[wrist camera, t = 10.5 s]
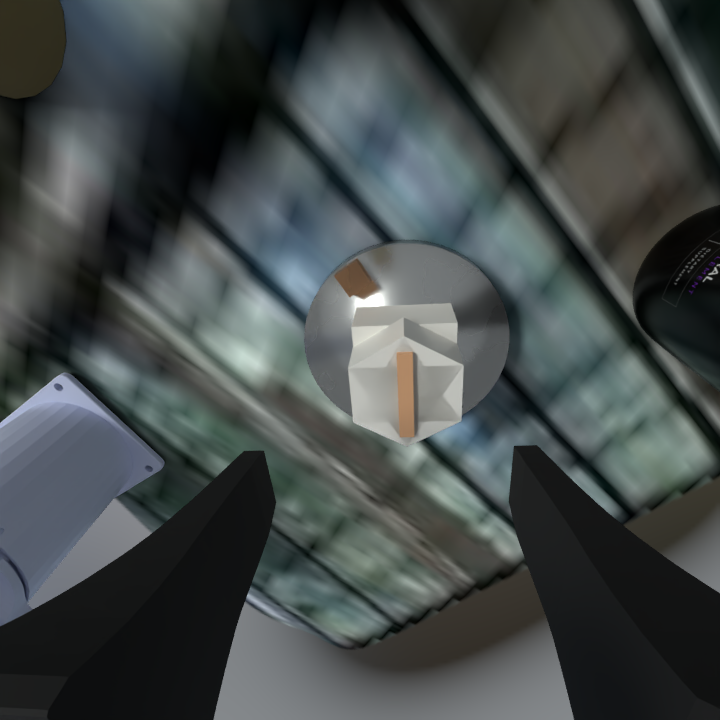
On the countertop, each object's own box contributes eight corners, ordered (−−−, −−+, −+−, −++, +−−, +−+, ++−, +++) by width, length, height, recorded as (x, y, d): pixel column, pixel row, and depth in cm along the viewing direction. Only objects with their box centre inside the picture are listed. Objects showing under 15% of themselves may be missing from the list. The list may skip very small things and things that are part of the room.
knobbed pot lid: (378, 446, 24) (375, 485, 22) (269, 313, 21) (249, 338, 18) (539, 364, 21) (560, 397, 18) (439, 193, 18) (446, 201, 15)
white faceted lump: (448, 391, 21) (460, 449, 17) (363, 392, 22) (355, 450, 18) (451, 295, 19) (465, 336, 15) (356, 300, 20) (344, 340, 15)
